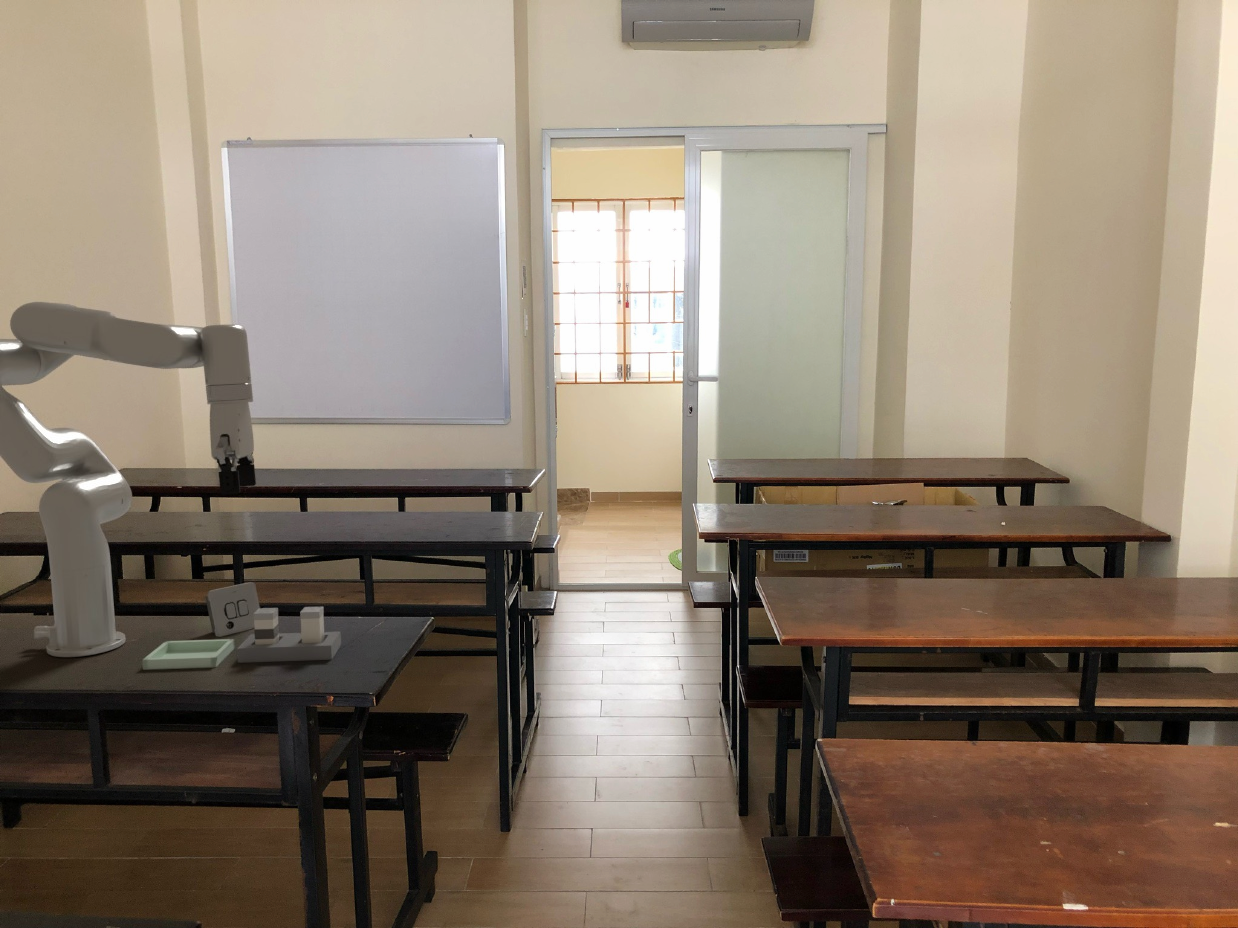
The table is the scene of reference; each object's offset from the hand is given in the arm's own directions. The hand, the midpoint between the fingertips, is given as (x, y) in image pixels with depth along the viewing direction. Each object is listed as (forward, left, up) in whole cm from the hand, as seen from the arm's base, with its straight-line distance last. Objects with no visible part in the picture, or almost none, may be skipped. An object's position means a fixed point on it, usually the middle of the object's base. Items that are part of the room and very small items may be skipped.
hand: (239, 489), depth 161 cm
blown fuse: (+5, -5, -29) cm, 30 cm away
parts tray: (-8, -6, -30) cm, 31 cm away
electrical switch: (-6, +11, -30) cm, 33 cm away
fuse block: (+9, -5, -30) cm, 31 cm away
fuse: (+13, -5, -29) cm, 32 cm away
